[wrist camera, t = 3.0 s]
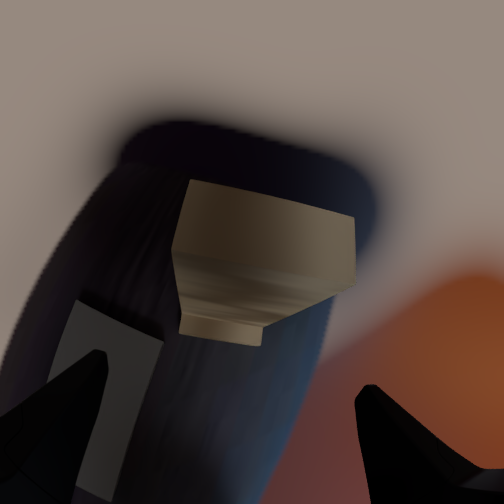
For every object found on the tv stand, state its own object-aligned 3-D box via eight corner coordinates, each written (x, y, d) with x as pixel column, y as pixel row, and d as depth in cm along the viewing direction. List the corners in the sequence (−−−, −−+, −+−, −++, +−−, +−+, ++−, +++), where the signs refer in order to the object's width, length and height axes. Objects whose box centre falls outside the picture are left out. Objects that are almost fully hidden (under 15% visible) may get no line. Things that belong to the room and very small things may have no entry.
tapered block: (264, 281, 22) (351, 187, 10) (256, 346, 20) (354, 326, 8) (191, 267, 21) (199, 148, 9) (179, 333, 19) (161, 295, 7)
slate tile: (164, 342, 18) (163, 341, 17) (114, 496, 13) (111, 502, 12) (82, 302, 18) (76, 299, 17) (37, 453, 12) (30, 457, 11)
